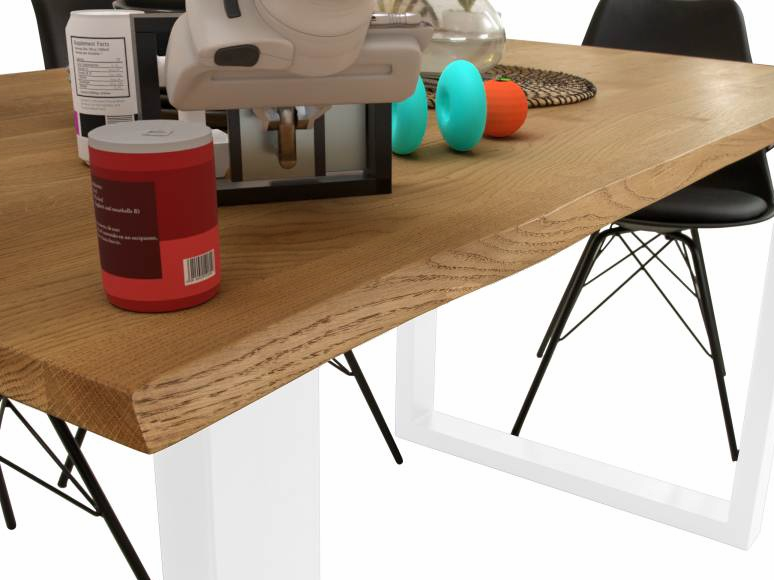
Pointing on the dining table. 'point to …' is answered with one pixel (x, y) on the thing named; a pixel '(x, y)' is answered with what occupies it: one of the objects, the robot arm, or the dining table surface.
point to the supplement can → (100, 71)
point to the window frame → (342, 135)
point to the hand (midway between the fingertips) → (284, 124)
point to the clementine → (504, 107)
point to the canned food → (156, 213)
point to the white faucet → (199, 117)
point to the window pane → (274, 147)
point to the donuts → (443, 111)
